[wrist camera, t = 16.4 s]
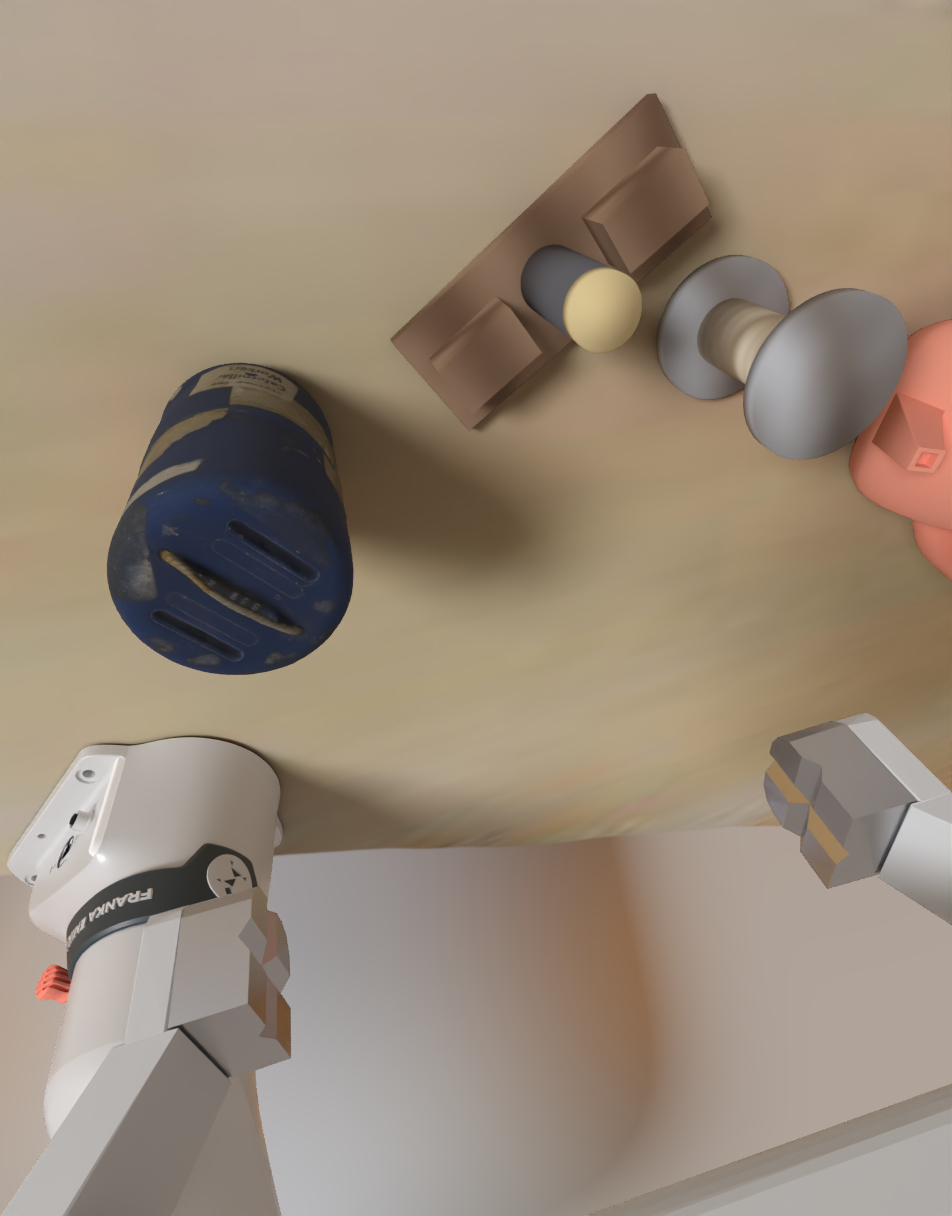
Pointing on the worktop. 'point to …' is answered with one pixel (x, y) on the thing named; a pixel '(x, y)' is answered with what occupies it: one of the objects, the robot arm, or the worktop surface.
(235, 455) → the canister
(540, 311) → the cylinder
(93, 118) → the worktop surface
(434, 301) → the board
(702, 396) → the bobbin
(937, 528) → the teapot
